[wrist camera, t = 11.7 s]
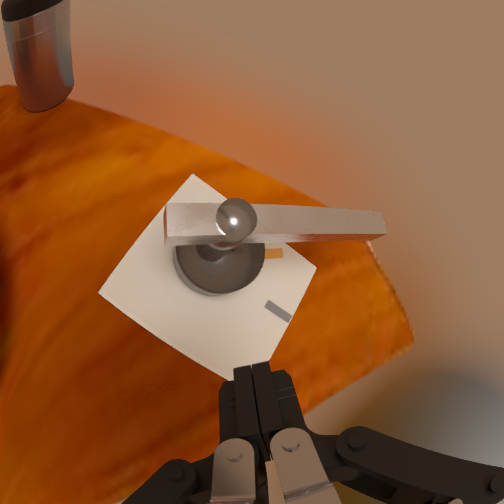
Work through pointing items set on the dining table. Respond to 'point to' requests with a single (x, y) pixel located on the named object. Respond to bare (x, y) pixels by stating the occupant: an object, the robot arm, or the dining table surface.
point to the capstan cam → (250, 237)
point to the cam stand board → (208, 297)
